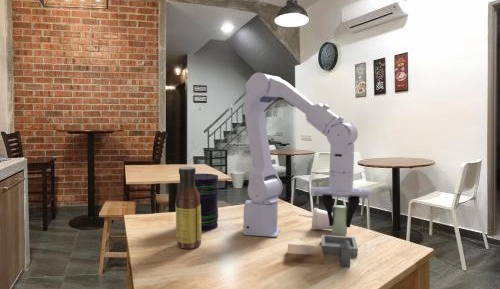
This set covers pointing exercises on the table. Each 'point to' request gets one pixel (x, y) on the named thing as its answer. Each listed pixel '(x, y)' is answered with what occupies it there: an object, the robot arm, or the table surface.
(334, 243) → the slate tray
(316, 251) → the tan rectangular block
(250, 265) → the table surface
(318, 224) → the smoothie
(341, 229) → the sage dowel
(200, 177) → the storage jar
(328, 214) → the robot arm
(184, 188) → the sauce bottle
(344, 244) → the post
